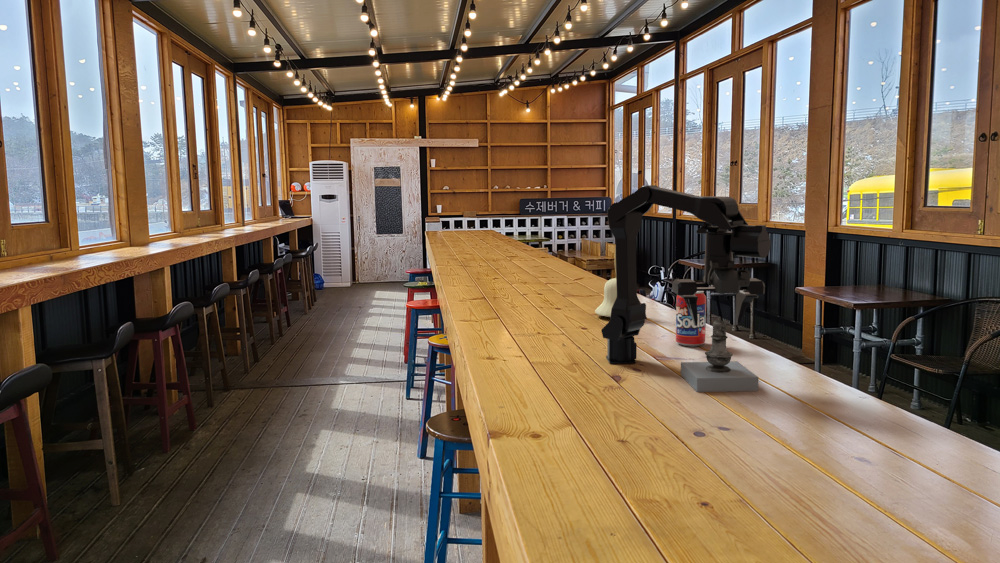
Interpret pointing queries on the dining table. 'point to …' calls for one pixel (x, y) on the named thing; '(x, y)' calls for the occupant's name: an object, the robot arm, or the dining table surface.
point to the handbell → (608, 296)
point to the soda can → (690, 322)
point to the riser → (719, 377)
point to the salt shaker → (718, 349)
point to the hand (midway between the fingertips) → (716, 325)
